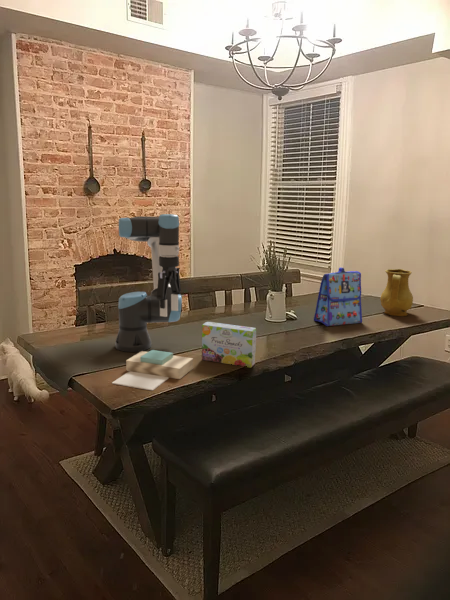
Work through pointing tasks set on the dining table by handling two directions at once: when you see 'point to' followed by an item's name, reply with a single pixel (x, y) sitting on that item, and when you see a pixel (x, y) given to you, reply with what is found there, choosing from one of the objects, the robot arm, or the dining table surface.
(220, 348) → the snack box
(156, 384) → the mat
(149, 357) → the coaster
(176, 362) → the board
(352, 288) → the lunch bag
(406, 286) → the pitcher
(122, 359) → the dining table surface
